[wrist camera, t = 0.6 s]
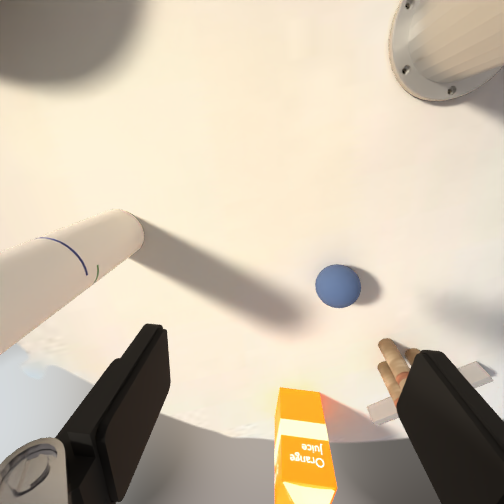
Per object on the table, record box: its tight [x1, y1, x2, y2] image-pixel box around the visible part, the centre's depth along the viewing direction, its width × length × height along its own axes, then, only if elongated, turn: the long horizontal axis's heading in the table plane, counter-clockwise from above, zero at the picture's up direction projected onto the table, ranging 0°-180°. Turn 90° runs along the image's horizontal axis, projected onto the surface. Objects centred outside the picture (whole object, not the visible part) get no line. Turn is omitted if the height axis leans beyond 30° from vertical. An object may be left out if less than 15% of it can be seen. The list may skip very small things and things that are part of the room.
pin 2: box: [405, 348, 420, 366], centre depth 39 cm, size 2×2×8 cm
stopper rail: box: [367, 361, 493, 426], centre depth 44 cm, size 20×1×3 cm, turn 129°
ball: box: [315, 265, 361, 308], centre depth 35 cm, size 6×6×6 cm
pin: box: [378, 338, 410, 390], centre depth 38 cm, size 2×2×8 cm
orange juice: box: [275, 387, 337, 504], centre depth 40 cm, size 8×9×20 cm
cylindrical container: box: [0, 209, 144, 355], centre depth 27 cm, size 7×7×25 cm
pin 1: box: [378, 361, 402, 407], centre depth 40 cm, size 2×2×8 cm
